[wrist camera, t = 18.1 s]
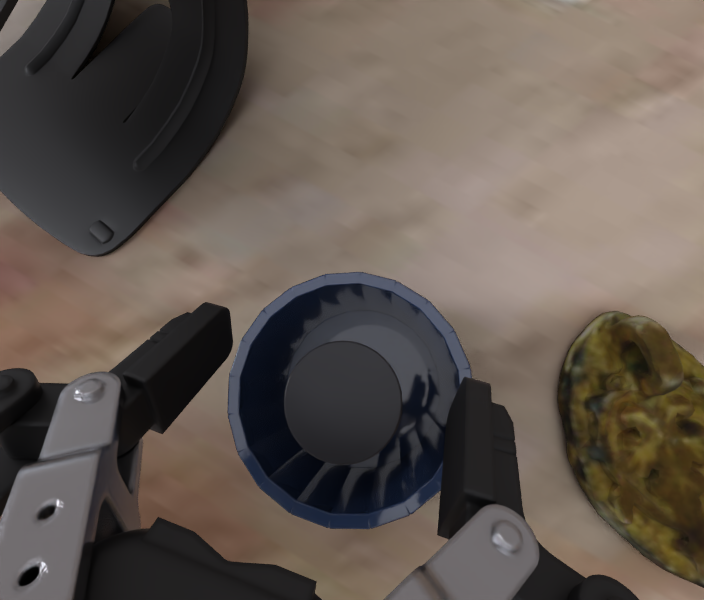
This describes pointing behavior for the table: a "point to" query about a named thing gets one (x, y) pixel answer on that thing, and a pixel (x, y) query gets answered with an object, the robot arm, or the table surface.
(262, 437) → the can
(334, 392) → the canister
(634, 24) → the table surface
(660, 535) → the bronze pendant
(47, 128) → the laptop stand
